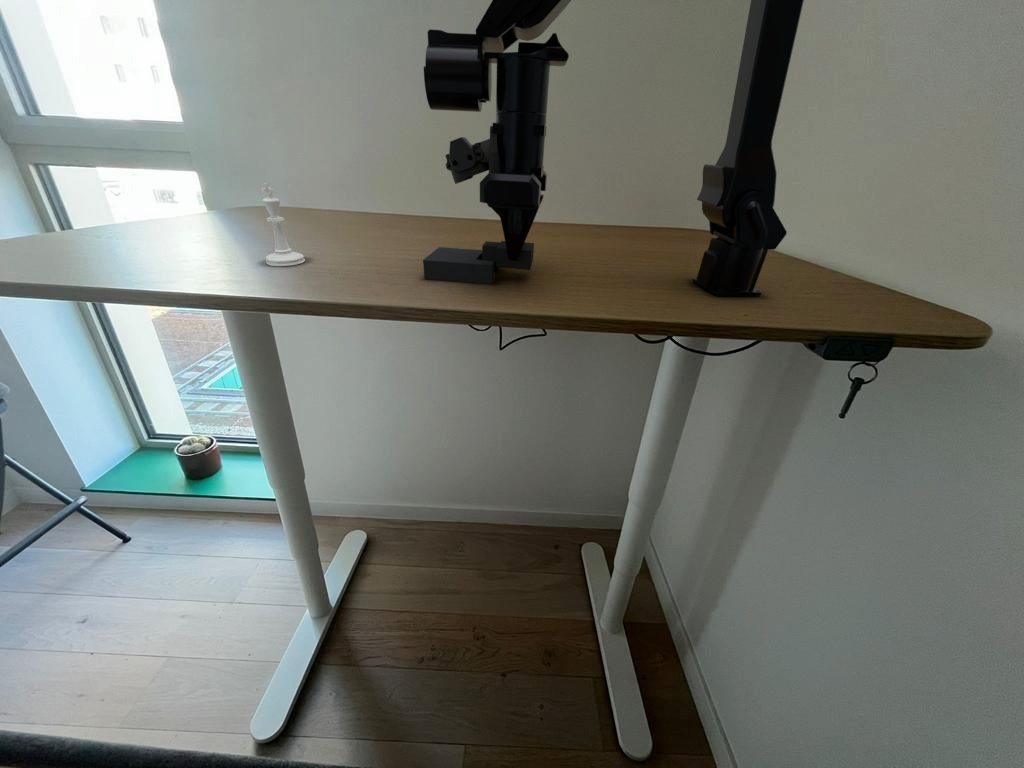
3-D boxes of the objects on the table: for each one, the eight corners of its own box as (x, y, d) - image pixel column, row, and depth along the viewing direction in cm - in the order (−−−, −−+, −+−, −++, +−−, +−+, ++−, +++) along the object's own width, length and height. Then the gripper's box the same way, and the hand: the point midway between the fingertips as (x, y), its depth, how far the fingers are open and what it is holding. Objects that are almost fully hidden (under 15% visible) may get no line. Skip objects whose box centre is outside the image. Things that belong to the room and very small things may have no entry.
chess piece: (290, 267, 54) (269, 186, 49) (258, 264, 55) (234, 183, 50) (312, 259, 58) (296, 182, 53) (282, 256, 59) (263, 180, 54)
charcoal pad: (500, 269, 58) (500, 251, 57) (491, 284, 52) (492, 265, 50) (439, 264, 59) (438, 246, 57) (424, 279, 52) (422, 259, 51)
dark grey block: (532, 261, 55) (534, 242, 54) (530, 270, 52) (531, 250, 50) (486, 258, 56) (486, 239, 55) (480, 266, 52) (480, 246, 51)
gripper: (468, 116, 53) (470, 237, 62) (426, 104, 38) (436, 269, 46) (551, 119, 53) (542, 242, 61) (544, 109, 37) (532, 277, 45)
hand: (515, 255), depth 53 cm, fingers closed on dark grey block, 4 cm apart
